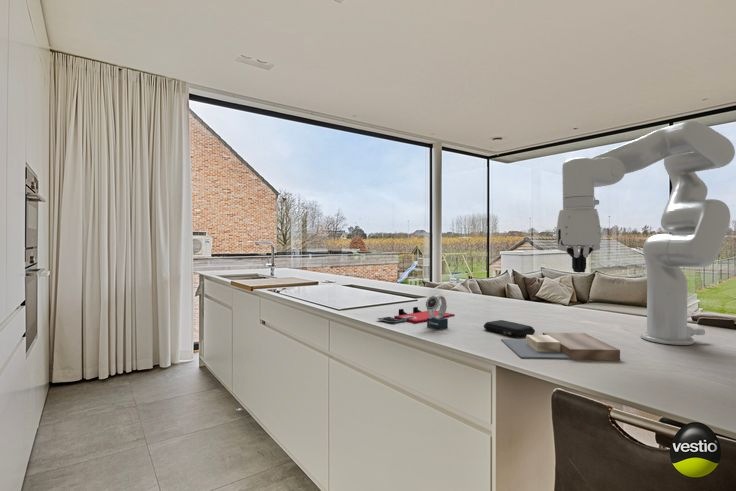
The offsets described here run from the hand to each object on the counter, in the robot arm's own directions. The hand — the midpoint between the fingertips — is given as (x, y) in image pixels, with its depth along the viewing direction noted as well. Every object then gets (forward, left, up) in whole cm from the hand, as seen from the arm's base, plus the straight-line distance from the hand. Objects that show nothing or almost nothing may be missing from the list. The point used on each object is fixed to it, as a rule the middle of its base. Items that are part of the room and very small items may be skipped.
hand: (579, 272), depth 106 cm
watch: (+35, -26, -21) cm, 49 cm away
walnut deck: (0, 0, -21) cm, 21 cm away
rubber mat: (+12, 0, -21) cm, 24 cm away
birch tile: (+10, 0, -21) cm, 23 cm away
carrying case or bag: (+13, -20, -22) cm, 32 cm away
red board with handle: (+42, -42, -22) cm, 64 cm away
